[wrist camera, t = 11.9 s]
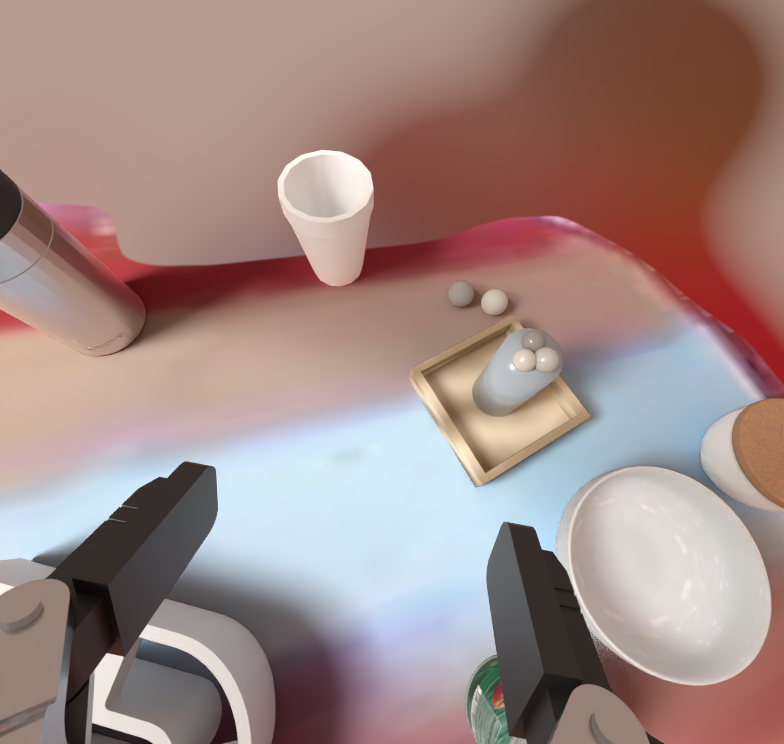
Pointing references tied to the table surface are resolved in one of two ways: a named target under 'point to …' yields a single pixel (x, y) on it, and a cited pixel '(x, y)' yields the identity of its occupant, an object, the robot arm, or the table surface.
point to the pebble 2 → (494, 302)
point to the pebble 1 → (460, 293)
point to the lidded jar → (748, 454)
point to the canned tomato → (488, 706)
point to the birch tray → (484, 432)
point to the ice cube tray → (177, 676)
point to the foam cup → (329, 211)
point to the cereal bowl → (666, 574)
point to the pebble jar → (517, 372)
